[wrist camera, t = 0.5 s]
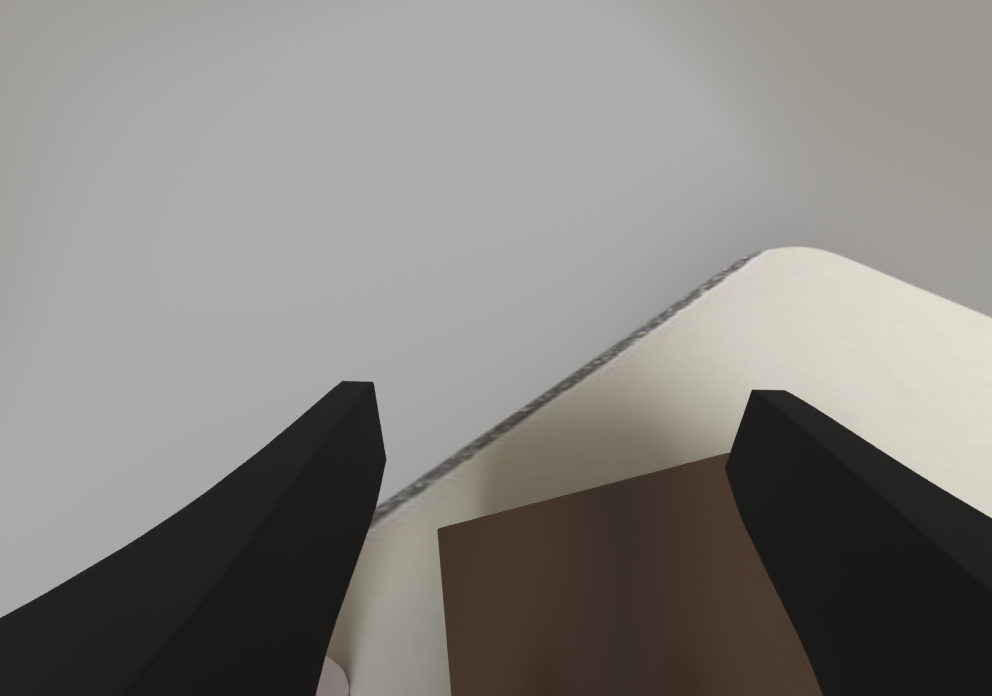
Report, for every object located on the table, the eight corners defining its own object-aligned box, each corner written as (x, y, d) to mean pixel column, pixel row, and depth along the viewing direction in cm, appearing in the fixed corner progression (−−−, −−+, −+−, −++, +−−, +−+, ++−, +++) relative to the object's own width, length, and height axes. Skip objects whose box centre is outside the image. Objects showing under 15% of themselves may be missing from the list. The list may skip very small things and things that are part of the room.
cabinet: (717, 519, 26) (739, 449, 21) (905, 889, 17) (1037, 941, 11) (477, 580, 27) (436, 528, 21) (530, 972, 17) (481, 1061, 12)
